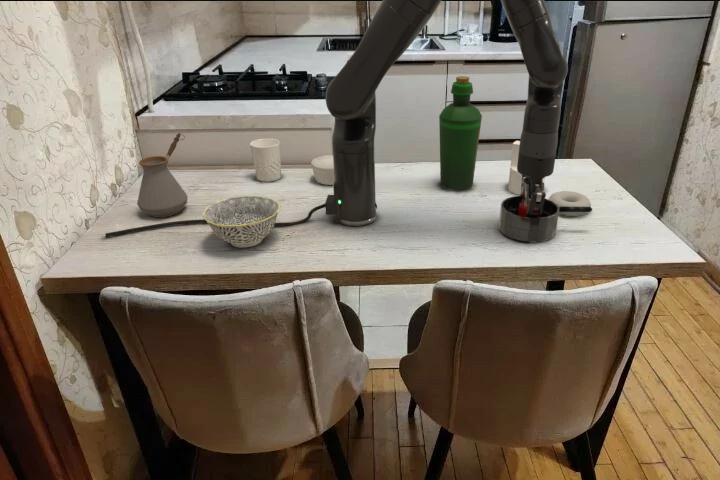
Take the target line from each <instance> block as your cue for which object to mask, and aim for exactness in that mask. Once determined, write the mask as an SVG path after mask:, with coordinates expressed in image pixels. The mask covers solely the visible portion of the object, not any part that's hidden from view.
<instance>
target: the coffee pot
mask: <svg viewBox="0 0 720 480" xmlns="http://www.w3.org/2000/svg"><path fill="white" fill-rule="evenodd" d="M181 136H183V138H181ZM185 139H186V136H185V135H184V134H183V133H181V132H178V133H177V134H176V136H175V137H174V138H173V141H172V143H170V146H169V148H168V151H167V153H166V155H165V156H163V155H155V156H147V157H145V158H142V159H140V160H139V161H138V165H139V166H141V168H142V169H143V170H142V171H143V173H142V178H141V182H140V186H139V187H140V188H139V193H138V197H137V202H136V205H137V206H138V208H139V209H140V211H142V212H143V213H145V214H147V215H148V216H150V217H153V218H167V217H170V216H175V215H176V214H179V213H180V212H181V211H182V210H183V209H184V207H185V206H186V204H187V202H188V194H187V193H186V192H185V190H184V189H183V188H182V186H181V185H180V183H179V182H178V180H177V179H176V178H175V176H174V175H173V174H172V172H171V170H169V168H168V163H169V160H170V158H171V156H172V154H173V153H174V151H175V149H176V148H177V144H178V142H180V141H183V140H185Z"/></svg>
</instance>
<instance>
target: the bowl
mask: <svg viewBox="0 0 720 480" xmlns="http://www.w3.org/2000/svg"><path fill="white" fill-rule="evenodd" d="M280 210H281V205H280V203H279V202H278V201H277V200H275V199H273V198H272V197H271V198H270V197H267V196H264V195H263V196H262V195H239V196H232V197H227V198H224V199H221V200H218V201H215V202H213V203H211V204H209V205H208V206H207V207H206V208H205V209H204V210H203V211H202V218H203V219H205V220H206V222H207V223H206V224H208V225H209V227H210V229H211V231H212V232H213V233H214V234H215V235H216V236H217V238H218V239H220V240H221V241H224V242H226V243H228V244H230V245H231V246H232V247H235V248H241V249H243V248H245V249H246V248H250V247H254V246H257V245H259V244H260V243H262V241H263V239H264V238H267V236H268V235H269V234H270V233H271V232H272V230H273V229H274V228H275V226H274V224H275V223H276V221H277V217H278V214H279V212H280Z"/></svg>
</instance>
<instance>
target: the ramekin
mask: <svg viewBox="0 0 720 480" xmlns="http://www.w3.org/2000/svg"><path fill="white" fill-rule="evenodd" d="M310 166H311V169H312V172H313V176H314V180H315V181H316V182H317V183H319V184H321V185H326V186H333V184H334V181H335V179H334V163H333V154H331V155H330V154H329V155H322V156H319V157H316V158H313V159H312V160H311V162H310Z"/></svg>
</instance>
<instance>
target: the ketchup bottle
mask: <svg viewBox="0 0 720 480" xmlns="http://www.w3.org/2000/svg"><path fill="white" fill-rule="evenodd" d="M529 200H531V198H529ZM533 210H536V208H533ZM526 212H527V204H526V203H525V201H523V202H521V203H520V204H519V211H518V216H522V217H526V216H527V213H526ZM537 218H540V216H537Z"/></svg>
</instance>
